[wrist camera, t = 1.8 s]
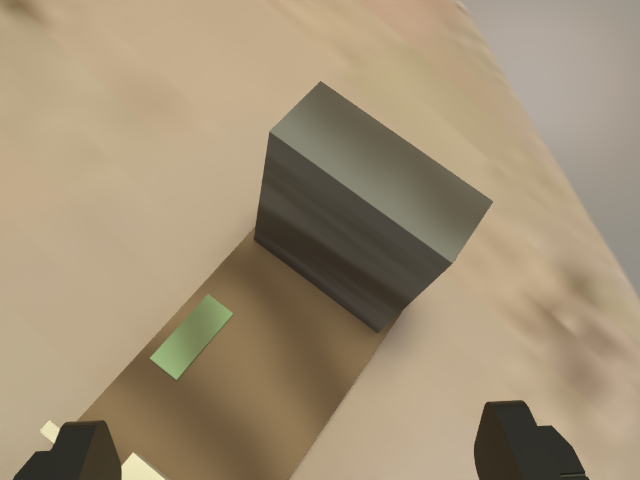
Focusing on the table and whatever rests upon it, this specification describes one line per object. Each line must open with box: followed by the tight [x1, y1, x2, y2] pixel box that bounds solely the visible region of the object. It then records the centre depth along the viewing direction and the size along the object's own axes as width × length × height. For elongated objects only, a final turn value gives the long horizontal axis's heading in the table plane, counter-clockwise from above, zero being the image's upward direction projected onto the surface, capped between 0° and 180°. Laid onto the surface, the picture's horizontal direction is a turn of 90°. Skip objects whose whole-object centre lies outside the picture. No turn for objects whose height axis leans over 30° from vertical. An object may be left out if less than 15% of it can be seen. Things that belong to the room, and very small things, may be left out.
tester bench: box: [50, 81, 493, 480], centre depth 25 cm, size 32×11×14 cm, turn 144°
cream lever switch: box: [40, 420, 170, 480], centre depth 26 cm, size 3×7×3 cm, turn 54°
